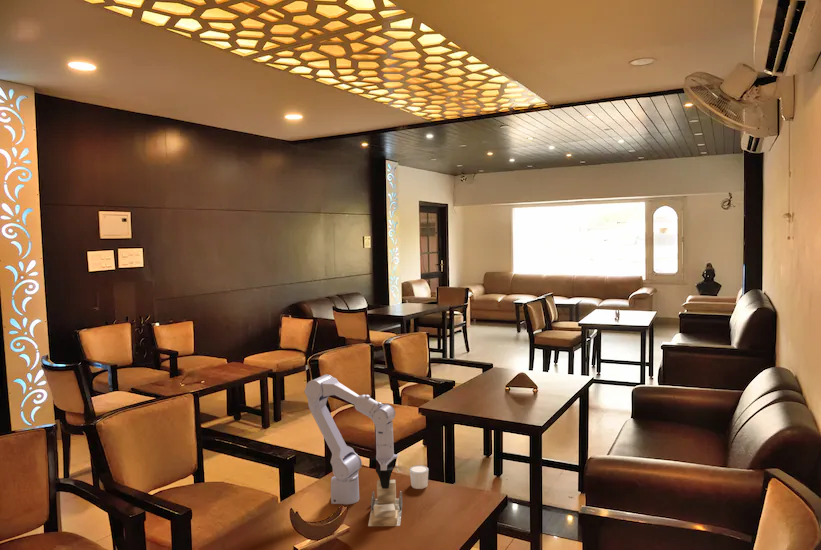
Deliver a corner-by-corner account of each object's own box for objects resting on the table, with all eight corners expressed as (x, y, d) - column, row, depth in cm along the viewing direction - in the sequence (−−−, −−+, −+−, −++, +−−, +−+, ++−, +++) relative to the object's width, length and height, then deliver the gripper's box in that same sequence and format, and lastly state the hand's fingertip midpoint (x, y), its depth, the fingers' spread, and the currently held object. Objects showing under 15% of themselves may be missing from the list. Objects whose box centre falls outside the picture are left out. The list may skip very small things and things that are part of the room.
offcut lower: (371, 524, 172) (371, 518, 172) (372, 516, 177) (372, 510, 177) (397, 524, 171) (396, 517, 171) (398, 516, 176) (397, 509, 176)
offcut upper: (375, 518, 171) (374, 512, 171) (373, 511, 176) (373, 505, 176) (395, 516, 172) (395, 510, 172) (394, 509, 177) (393, 503, 176)
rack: (367, 529, 171) (367, 513, 170) (373, 504, 187) (372, 490, 186) (400, 528, 170) (399, 513, 170) (402, 504, 186) (402, 489, 186)
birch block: (377, 508, 182) (376, 483, 181) (378, 504, 184) (377, 479, 184) (395, 508, 182) (394, 482, 181) (396, 504, 184) (395, 479, 184)
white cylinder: (429, 483, 201) (429, 465, 201) (428, 492, 194) (427, 473, 194) (410, 483, 202) (410, 464, 202) (409, 492, 195) (408, 472, 195)
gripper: (395, 450, 174) (397, 492, 175) (398, 434, 189) (399, 473, 190) (373, 451, 175) (374, 493, 175) (377, 435, 189) (378, 473, 190)
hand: (386, 482), depth 183 cm, fingers open, 7 cm apart
